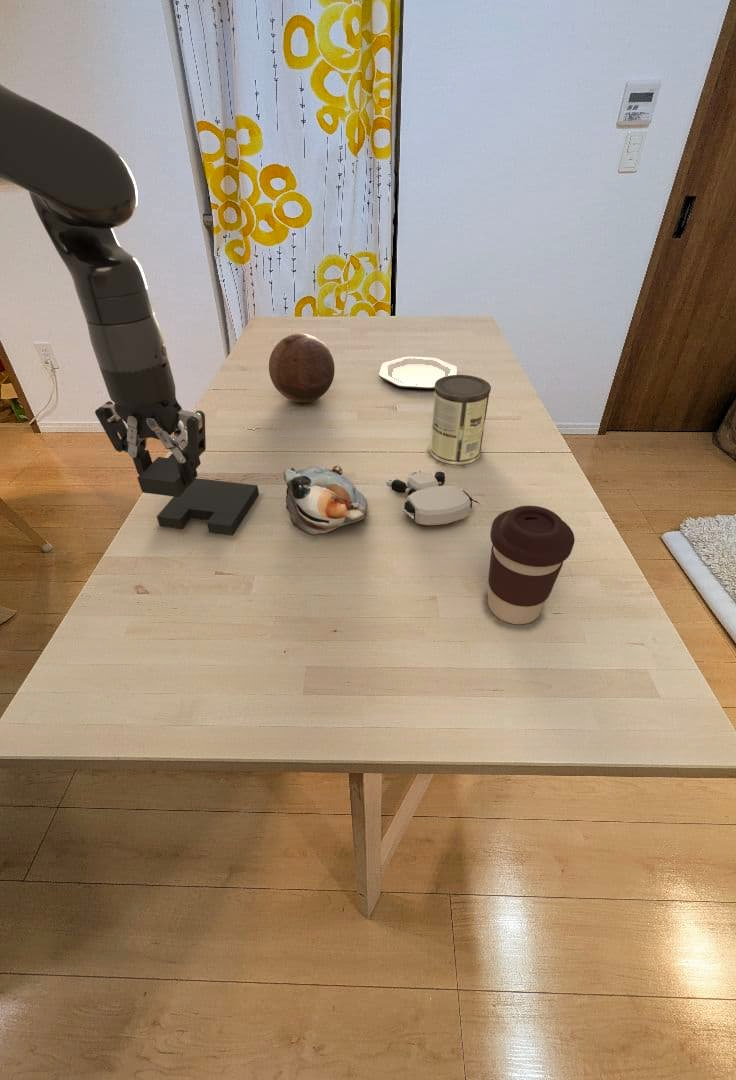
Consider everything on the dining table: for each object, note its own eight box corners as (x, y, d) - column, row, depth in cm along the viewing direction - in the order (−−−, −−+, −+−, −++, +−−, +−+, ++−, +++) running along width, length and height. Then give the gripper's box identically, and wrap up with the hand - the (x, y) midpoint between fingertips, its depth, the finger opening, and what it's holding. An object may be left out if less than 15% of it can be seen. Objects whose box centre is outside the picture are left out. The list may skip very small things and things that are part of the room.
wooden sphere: (348, 398, 124) (347, 334, 114) (301, 419, 116) (295, 352, 106) (307, 381, 132) (302, 320, 122) (260, 399, 124) (250, 335, 114)
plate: (456, 364, 141) (457, 358, 140) (455, 394, 126) (456, 388, 125) (385, 360, 143) (385, 355, 142) (375, 389, 128) (375, 384, 127)
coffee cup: (539, 644, 67) (567, 557, 57) (467, 616, 71) (482, 530, 61) (557, 596, 74) (586, 511, 64) (490, 573, 77) (508, 489, 68)
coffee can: (443, 434, 110) (450, 370, 101) (488, 448, 106) (500, 382, 97) (419, 455, 104) (424, 388, 95) (466, 470, 99) (476, 401, 90)
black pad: (142, 492, 69) (136, 477, 68) (173, 460, 75) (169, 445, 74) (179, 497, 68) (174, 482, 67) (207, 464, 75) (204, 449, 73)
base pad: (159, 526, 86) (156, 516, 85) (192, 486, 95) (189, 477, 94) (232, 535, 84) (230, 526, 83) (259, 494, 93) (257, 485, 92)
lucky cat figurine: (381, 505, 90) (388, 466, 77) (345, 561, 86) (347, 529, 73) (308, 465, 92) (304, 420, 79) (270, 518, 88) (258, 480, 75)
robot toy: (382, 494, 94) (413, 539, 83) (381, 472, 92) (414, 516, 80) (443, 483, 97) (481, 524, 86) (444, 461, 95) (484, 501, 83)
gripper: (56, 363, 58) (106, 489, 69) (173, 374, 55) (206, 502, 66) (96, 341, 63) (136, 460, 74) (205, 349, 61) (230, 471, 72)
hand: (169, 479), depth 70 cm, fingers closed on black pad, 5 cm apart
